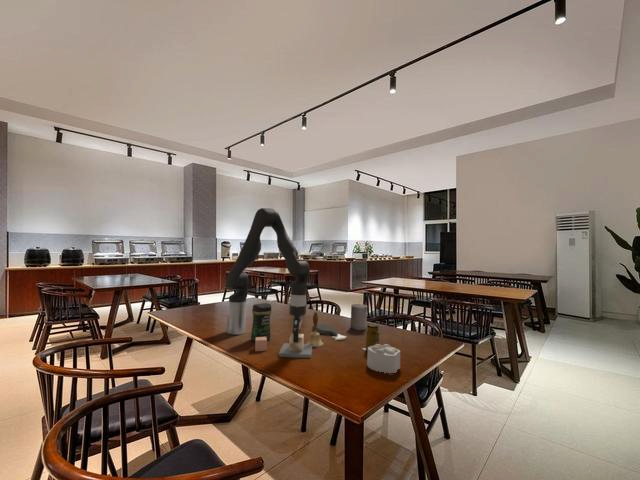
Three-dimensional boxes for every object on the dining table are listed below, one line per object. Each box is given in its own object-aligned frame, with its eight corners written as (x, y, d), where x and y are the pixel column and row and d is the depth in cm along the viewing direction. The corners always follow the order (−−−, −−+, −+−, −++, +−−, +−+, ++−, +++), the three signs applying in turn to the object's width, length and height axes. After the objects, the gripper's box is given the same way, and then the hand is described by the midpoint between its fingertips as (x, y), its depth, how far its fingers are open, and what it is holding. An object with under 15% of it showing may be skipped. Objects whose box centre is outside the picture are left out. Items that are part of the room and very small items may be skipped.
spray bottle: (326, 328, 186) (350, 340, 165) (310, 330, 180) (333, 342, 159) (326, 323, 186) (351, 334, 165) (310, 325, 180) (334, 337, 159)
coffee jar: (257, 343, 152) (258, 305, 153) (248, 339, 158) (249, 303, 158) (273, 339, 159) (274, 303, 159) (264, 336, 165) (265, 301, 165)
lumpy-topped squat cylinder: (393, 375, 119) (394, 353, 119) (362, 367, 126) (363, 346, 126) (401, 367, 128) (402, 346, 128) (372, 360, 135) (373, 340, 135)
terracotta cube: (255, 351, 142) (255, 340, 142) (255, 347, 146) (255, 337, 146) (266, 350, 143) (266, 340, 143) (265, 347, 148) (266, 336, 148)
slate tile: (278, 356, 135) (278, 353, 135) (283, 346, 149) (283, 343, 149) (310, 358, 135) (310, 354, 135) (312, 347, 149) (312, 344, 149)
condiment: (374, 347, 152) (374, 322, 153) (384, 352, 145) (385, 327, 145) (361, 348, 149) (362, 324, 149) (371, 354, 142) (372, 328, 142)
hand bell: (303, 344, 154) (304, 312, 154) (314, 340, 160) (315, 309, 160) (315, 348, 148) (316, 315, 148) (326, 344, 154) (327, 312, 154)
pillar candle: (348, 326, 190) (348, 302, 190) (362, 325, 193) (363, 301, 193) (354, 330, 181) (355, 305, 181) (369, 329, 184) (370, 304, 184)
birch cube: (289, 350, 139) (289, 337, 139) (290, 346, 145) (291, 333, 145) (302, 351, 139) (302, 337, 139) (303, 346, 145) (303, 333, 145)
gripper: (291, 300, 150) (290, 334, 150) (287, 306, 135) (286, 343, 135) (307, 301, 150) (305, 335, 149) (304, 307, 135) (303, 344, 135)
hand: (296, 339), depth 142 cm, fingers open, 8 cm apart
